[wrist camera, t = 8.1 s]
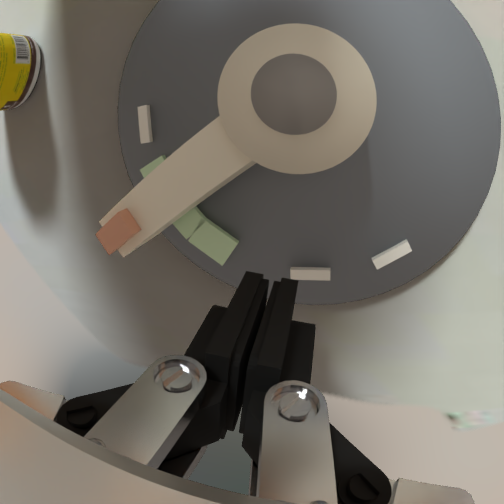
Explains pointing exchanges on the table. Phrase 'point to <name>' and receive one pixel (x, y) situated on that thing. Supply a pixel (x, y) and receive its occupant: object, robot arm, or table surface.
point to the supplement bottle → (17, 69)
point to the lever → (257, 127)
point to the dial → (340, 176)
